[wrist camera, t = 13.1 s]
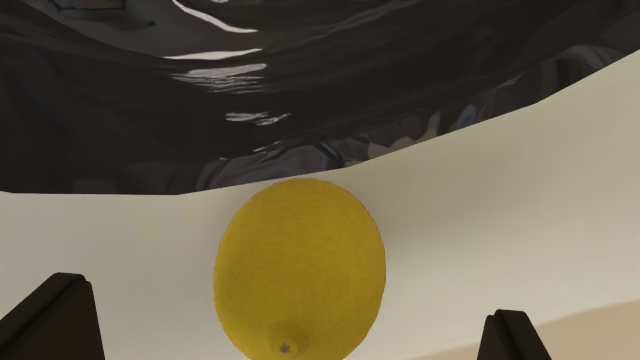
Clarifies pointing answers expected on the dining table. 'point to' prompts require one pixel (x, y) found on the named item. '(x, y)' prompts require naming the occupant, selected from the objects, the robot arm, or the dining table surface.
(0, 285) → the dining table surface
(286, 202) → the lemon
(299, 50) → the wine glass
